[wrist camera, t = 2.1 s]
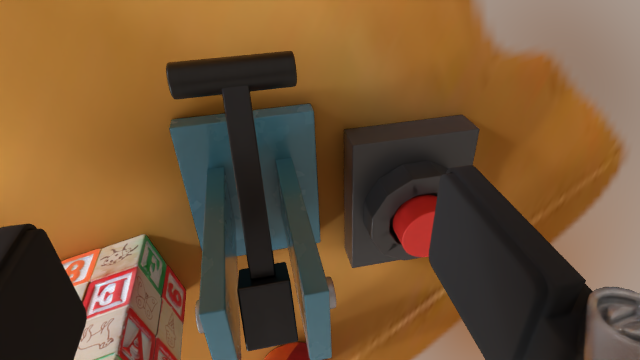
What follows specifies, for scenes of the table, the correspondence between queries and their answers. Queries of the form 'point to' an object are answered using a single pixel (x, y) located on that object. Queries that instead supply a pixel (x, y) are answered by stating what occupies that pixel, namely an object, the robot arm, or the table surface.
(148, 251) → the stack of blocks
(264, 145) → the bracket
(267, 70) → the lever
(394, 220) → the button
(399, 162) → the control block
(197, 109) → the table surface
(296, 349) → the paper cup
